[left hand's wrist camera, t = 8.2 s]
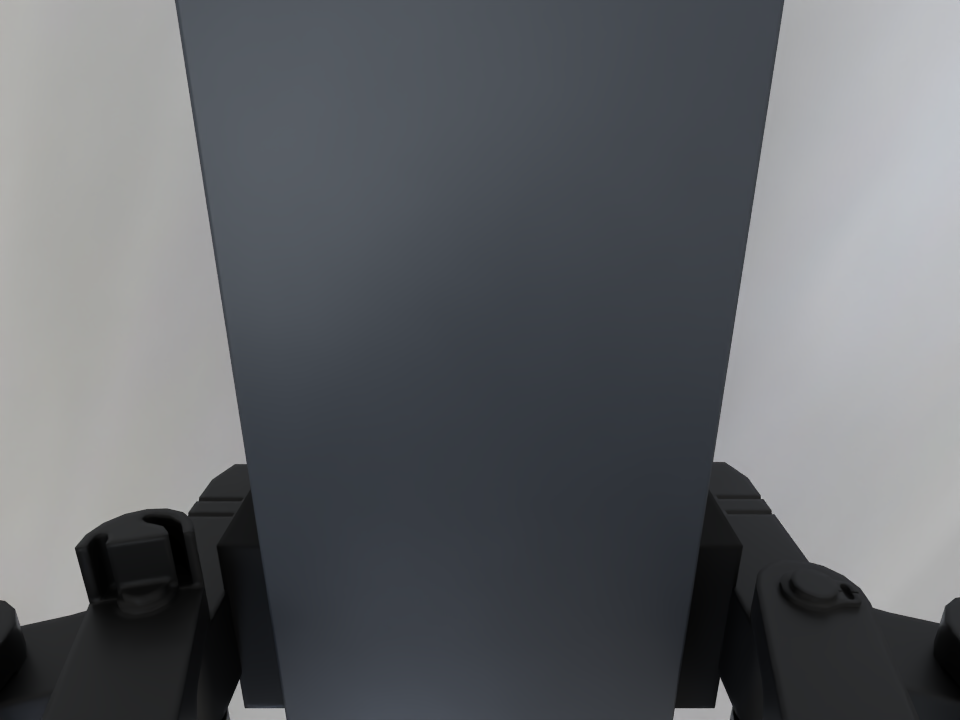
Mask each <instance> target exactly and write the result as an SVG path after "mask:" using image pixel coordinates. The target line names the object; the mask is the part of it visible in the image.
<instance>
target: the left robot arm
mask: <svg viewBox="0 0 960 720" xmlns="http://www.w3.org/2000/svg"><path fill="white" fill-rule="evenodd" d="M75 551H76V554H77V558H78V562H79V565H80V569H81V573H82V576H83V580H84V584H85V588H86V591H87V595H88V599H89V602H90V604H89V607H88V609H87V611H84V612H81V613H77V614H74V615H70V616H65V617H61V618H56V619H51V620H47V621H42V622H38V623H33V624H29V625H24V626H20V623H19V620H18V617H17V614H16V611H15V609H14V608H13V607H12V606H10V605H9V604H8V603H7V602H6V601H1V600H0V720H230V717H229V712H228V706H229V703H230V701H231V698H232V696H233V694H234V691H235V689H236V686H237V684H238V682H239V679H240V683H241V689H242V695H243V700H244V706H245V708H285V706H284V699H283V693H282V687H281V680H280V674H279V667H278V661H277V654H276V648H275V641H274V635H273V628H272V622H271V616H270V609H269V603H268V596H267V590H266V583H265V577H264V570H263V564H262V558H261V551H260V545H259V538H258V532H257V525H256V519H255V512H254V506H253V500H252V493H251V487H250V480H249V474H248V467H247V464H235V465H233V466H232V467H230V468H229V469H227V470H226V471H224V472H223V473H221V474H220V475H218V476H217V477H216V478H214V479H213V480H212V481H211V482H210V483H209V485H208V486H207V488H206V489H205V490H204V492H203V493H202V495H201V496H200V497H199V501H196V503H195V504H194V506H193V507H192V508H191V510H190V511H189V513H188V516H187V515H186V514H184V513H183V512H180V511H175V510H171V509H146V510H141V511H137V512H132V513H128V514H124V515H122V516H119V517H117V518H114V519H112V520H110V521H107V522H105V523H103V524H101V525H100V526H98V527H97V528H95V529H94V530H92V531H91V532H89V533H88V534H86V535H85V536H84V538H83V539H82V540H81V541H80V542H79V544H78V545H77V546H76V547H75ZM720 677H721V680H722V682H723V684H724V687H725V689H726V692H727V694H728V696H729V699H730V701H731V703H732V712H731V717H730V720H960V597H959V598H955V599H954V600H952V601H951V602H950V603H949V604H947V605H946V606H945V609H944V612H943V615H942V618H941V621H940V623H935V622H930V621H926V620H921V619H917V618H912V617H907V616H903V615H898V614H894V613H889V612H886V611H882V610H878V609H875V608H872V605H871V603H870V602H869V600H868V599H867V597H866V596H865V594H864V593H863V592H862V590H861V589H860V588H859V587H858V586H856V585H855V584H854V583H853V582H851V581H850V580H849V579H847V578H846V577H845V576H843V575H841V574H839V573H837V572H835V571H833V570H831V569H829V568H826V567H824V566H821V565H817V564H814V563H810V562H809V561H808V560H807V559H806V557H805V556H804V555H803V553H802V552H801V550H800V549H799V548H798V546H797V545H796V544H795V542H794V541H793V539H792V538H791V537H790V535H789V534H788V533H787V531H786V530H785V528H784V527H783V526H782V524H781V523H780V522H779V520H778V519H777V517H776V516H775V515H774V514H772V513H771V509H770V508H769V506H768V505H767V504H766V502H765V501H764V499H761V495H760V494H759V493H758V491H757V490H756V488H755V487H754V486H753V484H752V483H751V482H750V480H749V479H748V478H747V477H746V476H744V475H743V474H741V473H740V472H739V471H737V470H736V469H734V468H733V467H731V466H730V465H728V464H727V463H725V462H713V464H712V470H711V477H710V483H709V490H708V496H707V503H706V509H705V516H704V522H703V529H702V535H701V541H700V548H699V554H698V561H697V567H696V574H695V580H694V587H693V593H692V600H691V606H690V613H689V619H688V625H687V632H686V638H685V645H684V651H683V658H682V664H681V671H680V677H679V684H678V690H677V697H676V703H675V708H715V703H716V698H717V692H718V686H719V680H720Z"/></svg>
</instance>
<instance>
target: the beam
mask: <svg viewBox="0 0 960 720" xmlns="http://www.w3.org/2000/svg"><path fill="white" fill-rule="evenodd" d="M175 3H176V10H177V16H178V22H179V29H180V35H181V42H182V48H183V55H184V61H185V68H186V74H187V80H188V87H189V93H190V100H191V106H192V113H193V119H194V126H195V132H196V138H197V145H198V151H199V158H200V164H201V171H202V177H203V184H204V190H205V197H206V203H207V209H208V216H209V222H210V229H211V235H212V242H213V248H214V255H215V261H216V267H217V274H218V280H219V287H220V293H221V300H222V306H223V313H224V319H225V325H226V332H227V338H228V345H229V351H230V358H231V364H232V371H233V377H234V383H235V390H236V396H237V403H238V409H239V416H240V422H241V429H242V435H243V442H244V448H245V454H246V461H247V467H248V474H249V480H250V487H251V493H252V500H253V506H254V512H255V519H256V525H257V532H258V538H259V545H260V551H261V558H262V564H263V570H264V577H265V583H266V590H267V596H268V603H269V609H270V616H271V622H272V628H273V635H274V641H275V648H276V654H277V661H278V667H279V674H280V680H281V687H282V693H283V699H284V706H285V712H286V719H287V720H673V716H674V709H675V703H676V697H677V690H678V684H679V677H680V671H681V664H682V658H683V651H684V645H685V638H686V632H687V625H688V619H689V613H690V606H691V600H692V593H693V587H694V580H695V574H696V567H697V561H698V554H699V548H700V541H701V535H702V529H703V522H704V516H705V509H706V503H707V496H708V490H709V483H710V477H711V470H712V464H713V457H714V451H715V445H716V438H717V432H718V425H719V419H720V412H721V406H722V399H723V393H724V386H725V380H726V373H727V367H728V361H729V354H730V348H731V341H732V335H733V328H734V322H735V315H736V309H737V302H738V296H739V289H740V283H741V277H742V270H743V264H744V257H745V251H746V244H747V238H748V231H749V225H750V218H751V212H752V205H753V199H754V193H755V186H756V180H757V173H758V167H759V160H760V154H761V147H762V141H763V134H764V128H765V121H766V115H767V109H768V102H769V96H770V89H771V83H772V76H773V70H774V63H775V57H776V50H777V44H778V37H779V31H780V24H781V18H782V12H783V5H784V0H175Z"/></svg>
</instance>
